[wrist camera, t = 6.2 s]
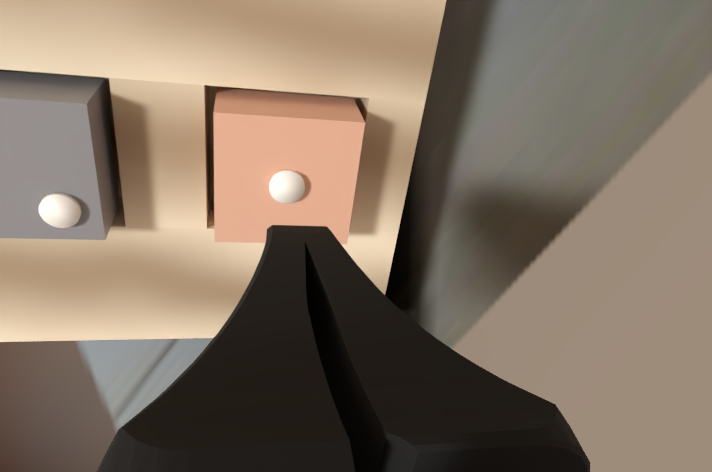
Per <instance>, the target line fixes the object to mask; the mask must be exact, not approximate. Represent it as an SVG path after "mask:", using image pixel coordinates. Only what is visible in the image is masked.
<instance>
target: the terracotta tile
mask: <svg viewBox="0 0 712 472" xmlns="http://www.w3.org/2000/svg"><path fill="white" fill-rule="evenodd" d="M213 120H214V232H215V242H242V243H266V234H267V229H268V228H269V227H270V226H272V225H294V226H327V227H328V228H329V229H330V230H331V231H332V233H333V234H334V235H335V237H336V238H337V240H338V241H339V242H340V243H341V244H347V241H348V235H349V228H350V221H351V215H352V208H353V201H354V194H355V188H356V181H357V174H358V168H359V161H360V154H361V148H362V141H363V134H364V128H365V121H364V119H363V117H362V115H361V113H360V111H359V109H358V107H357V105H356V103H355V100H354V98H346V97H333V96H320V95H307V94H294V93H281V92H268V91H255V90H242V89H230V88H217V92H216V98H215V105H214V112H213Z"/></svg>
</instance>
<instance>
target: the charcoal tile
mask: <svg viewBox="0 0 712 472" xmlns="http://www.w3.org/2000/svg"><path fill="white" fill-rule="evenodd" d="M118 207H119V197H118V188H117V180H116V171H115V163H114V154H113V146H112V137H111V129H110V120H109V112H108V103H107V95H106V86H105V79H100V78H87V77H75V76H62V75H49V74H36V73H23V72H10V71H0V238H20V239H76V240H106V238H107V235H108V233H109V230H110V228H111V225H112V223H113V220H114V217H115V215H116V212H117V210H118Z"/></svg>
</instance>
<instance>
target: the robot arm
mask: <svg viewBox="0 0 712 472" xmlns="http://www.w3.org/2000/svg"><path fill="white" fill-rule="evenodd" d="M97 472H590V462H589V460H588V458H587V456H586V455H585V453H584V451H583V449H582V447H581V446H580V444H579V442H578V440H577V438H576V437H575V435H574V433H573V431H572V429H571V428H570V426H569V424H568V423H567V421H566V420H565V419H564V417H563V415H562V414H561V412H560V411H559V409H558V408H557V407H556V405H555V404H553V403H551V402H549V401H547V400H545V399H542V398H540V397H538V396H536V395H534V394H532V393H529V392H527V391H525V390H523V389H521V388H519V387H517V386H515V385H512V384H510V383H508V382H507V381H505V380H503V379H501V378H499V377H497V376H496V375H493V374H492V373H490V372H488V371H486V370H485V369H483V368H481V367H479V366H478V365H476V364H474V363H473V362H471V361H469V360H468V359H466V358H465V357H463V356H461V355H460V354H458V353H457V352H455V351H454V350H452V349H451V348H449V347H448V346H446V345H445V344H444V343H442V342H441V341H439V340H438V339H436V338H435V337H433V336H432V335H431V334H429V333H428V332H427V331H425V330H424V329H423V328H422V327H420V326H419V325H418V324H417V323H416V322H414V321H413V320H412V319H411V318H409V317H408V316H407V315H406V314H405V313H403V312H402V311H401V310H400V309H399V308H398V307H397V306H396V305H394V304H393V303H392V302H391V301H390V300H389V299H388V298H387V297H386V296H385V295H384V294H383V293H382V292H381V291H380V290H379V289H378V288H377V286H376V285H375V284H374V283H373V282H372V281H371V280H370V279H369V278H368V276H367V275H366V274H365V273H364V272H363V271H362V270H361V268H360V267H359V266H358V265H357V264H356V263H355V261H354V260H353V259H352V258H351V256H350V255H349V254H348V253H347V251H346V250H345V249H344V247H343V246H342V245H341V243H340V242H339V241H338V240H337V238H336V237H335V235H334V234H333V233H332V231H331V230H330V229H329V228H328V227H327V226H294V225H272V226H270V227H269V228H268V229H267V234H266V243H265V247H264V250H263V253H262V256H261V258H260V261H259V263H258V265H257V268H256V270H255V272H254V275H253V277H252V279H251V281H250V283H249V285H248V286H247V288H246V290H245V292H244V294H243V295H242V297H241V299H240V301H239V303H238V304H237V306H236V307H235V309H234V311H233V312H232V314H231V315H230V317H229V318H228V320H227V321H226V322H225V324H224V325H223V327H222V328H221V329H220V331H219V332H218V333H217V335H216V336H215V337H214V338H213V340H212V341H211V342H210V343H209V345H208V346H207V347H206V348H205V350H204V351H203V352H202V353H201V354H200V355H199V357H198V358H197V359H196V360H195V361H194V362H193V363H192V364H191V365H190V366H189V367H188V368H187V369H186V370H185V371H184V372H183V373H182V374H181V375H180V376H179V377H178V378H177V379H176V380H175V381H174V382H173V383H172V384H171V385H170V386H169V387H168V388H167V389H166V390H165V391H164V392H163V393H162V394H161V395H160V396H159V397H158V398H156V399H155V400H154V401H153V402H152V403H150V404H149V405H148V406H147V407H146V408H144V409H143V410H142V411H141V412H140V413H138V414H137V415H136V416H135V417H133V418H132V419H131V420H130V421H129V422H127V423H126V424H125V425H124V426H122V427H121V428H120V429H119V430H118V432H117V434H116V435H115V437H114V439H113V441H112V443H111V445H110V447H109V449H108V450H107V452H106V454H105V456H104V458H103V460H102V462H101V464H100V466H99V468H98V471H97Z"/></svg>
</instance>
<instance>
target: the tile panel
mask: <svg viewBox="0 0 712 472" xmlns="http://www.w3.org/2000/svg"><path fill="white" fill-rule="evenodd" d="M445 5H446V0H0V71H10V72H23V73H36V74H49V75H62V76H75V77H87V78H100V79H105V86H106V95H107V103H108V112H109V120H110V129H111V137H112V146H113V154H114V163H115V171H116V180H117V188H118V197H119V207H118V210H117V212H116V215H115V217H114V220H113V223H112V225H111V228H110V230H109V233H108V235H107V238H106V240H76V239H20V238H0V342H15V341H67V340H68V341H69V340H123V339H176V338H214V337H215V336H216V335H217V333H218V332H219V331H220V329H221V328H222V327H223V325H224V324H225V322H226V321H227V320H228V318H229V317H230V315H231V314H232V312H233V311H234V309H235V307H236V306H237V304H238V303H239V301H240V299H241V297H242V295H243V294H244V292H245V290H246V288H247V286H248V285H249V283H250V281H251V279H252V277H253V275H254V272H255V270H256V268H257V265H258V263H259V261H260V258H261V256H262V253H263V250H264V247H265V243H242V242H215V232H214V120H213V112H214V105H215V98H216V92H217V88H230V89H242V90H255V91H268V92H281V93H294V94H307V95H320V96H333V97H346V98H354V100H355V103H356V105H357V107H358V109H359V111H360V113H361V115H362V117H363V119H364V121H365V128H364V134H363V141H362V148H361V154H360V161H359V168H358V174H357V181H356V188H355V194H354V201H353V208H352V215H351V221H350V228H349V235H348V241H347V244H341V245H342V246H343V247H344V249H345V250H346V251H347V253H348V254H349V255H350V256H351V258H352V259H353V260H354V261H355V263H356V264H357V265H358V266H359V267H360V268H361V270H362V271H363V272H364V273H365V274H366V275H367V276H368V278H369V279H370V280H371V281H372V282H373V283H374V284H375V285H376V286H377V288H378V289H379V290H380V291H381V292H382V293H383V294H384V295H385V293H386V288H387V284H388V279H389V274H390V269H391V264H392V260H393V255H394V250H395V245H396V240H397V236H398V231H399V226H400V221H401V216H402V212H403V207H404V202H405V197H406V192H407V188H408V183H409V178H410V173H411V168H412V164H413V159H414V154H415V149H416V144H417V140H418V135H419V130H420V125H421V120H422V116H423V111H424V106H425V101H426V96H427V92H428V87H429V82H430V77H431V72H432V67H433V63H434V58H435V53H436V48H437V43H438V39H439V34H440V29H441V24H442V19H443V15H444V10H445Z"/></svg>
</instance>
